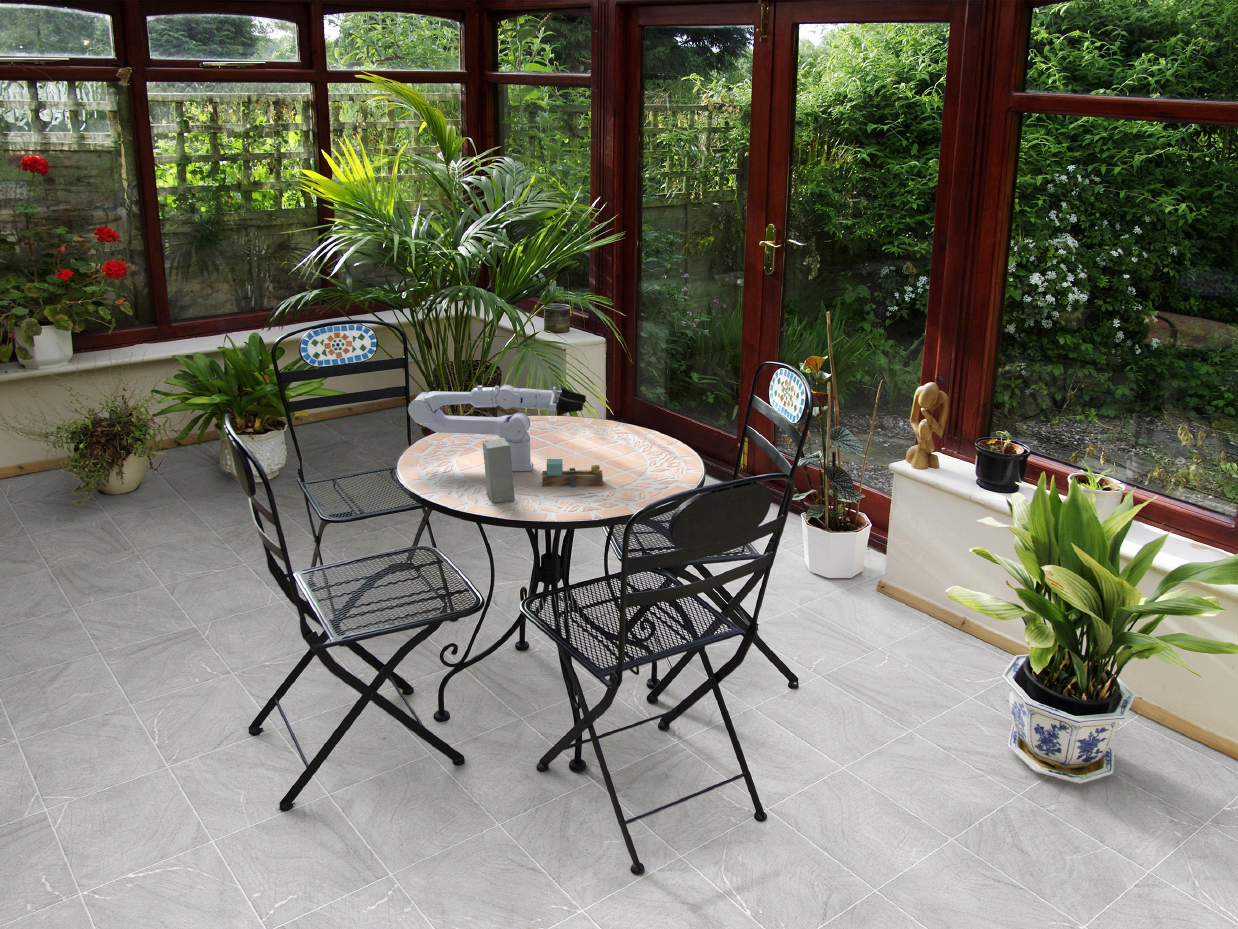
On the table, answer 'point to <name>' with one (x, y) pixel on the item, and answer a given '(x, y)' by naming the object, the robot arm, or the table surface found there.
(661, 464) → the table surface
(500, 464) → the skincare box
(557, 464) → the block
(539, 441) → the table surface
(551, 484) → the wooden slide track
